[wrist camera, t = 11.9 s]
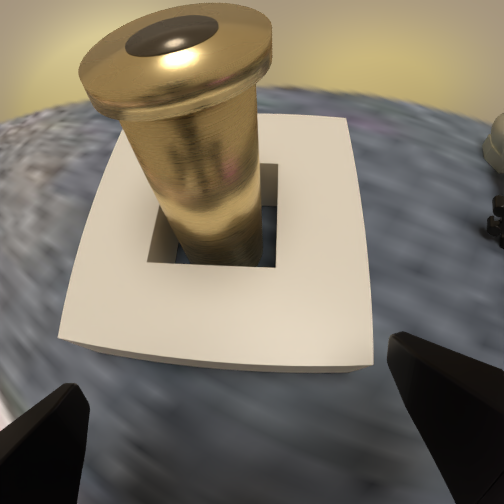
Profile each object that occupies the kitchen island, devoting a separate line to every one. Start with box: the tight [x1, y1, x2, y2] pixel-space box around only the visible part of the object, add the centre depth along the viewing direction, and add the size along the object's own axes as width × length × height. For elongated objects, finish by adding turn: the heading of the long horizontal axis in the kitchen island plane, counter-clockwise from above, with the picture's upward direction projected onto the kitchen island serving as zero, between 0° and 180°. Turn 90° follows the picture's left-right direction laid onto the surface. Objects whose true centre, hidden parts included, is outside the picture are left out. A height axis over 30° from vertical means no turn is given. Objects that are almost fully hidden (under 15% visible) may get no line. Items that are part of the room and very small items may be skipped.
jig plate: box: [58, 114, 373, 373], centre depth 17 cm, size 14×14×4 cm
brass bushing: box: [79, 3, 272, 267], centre depth 13 cm, size 5×5×13 cm
